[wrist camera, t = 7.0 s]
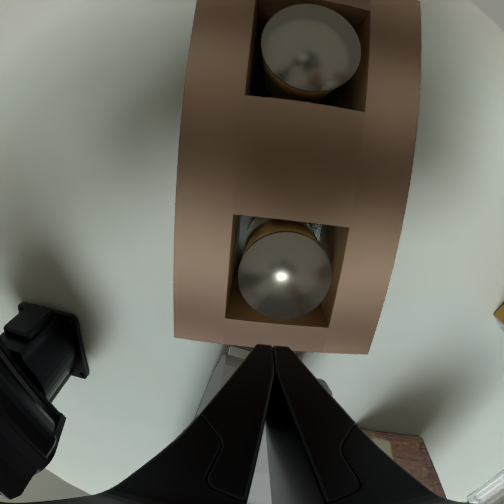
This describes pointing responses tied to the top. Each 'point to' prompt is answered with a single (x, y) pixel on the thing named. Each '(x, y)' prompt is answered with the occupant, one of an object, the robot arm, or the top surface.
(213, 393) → the alarm clock
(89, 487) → the top surface
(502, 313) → the small box
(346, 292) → the walnut block
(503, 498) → the building
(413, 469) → the brown wooden case
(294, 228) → the brass peg
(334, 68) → the brass peg
